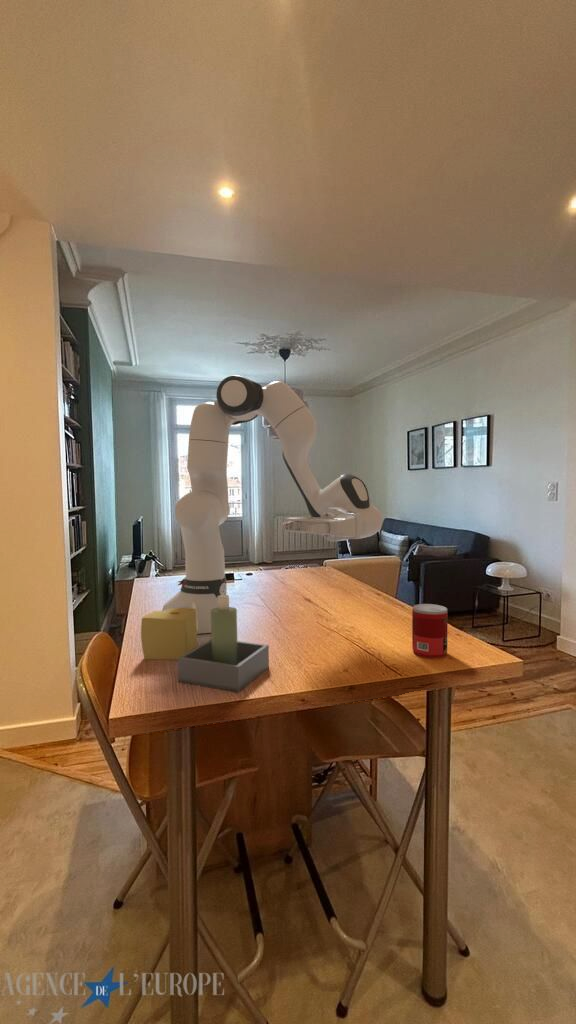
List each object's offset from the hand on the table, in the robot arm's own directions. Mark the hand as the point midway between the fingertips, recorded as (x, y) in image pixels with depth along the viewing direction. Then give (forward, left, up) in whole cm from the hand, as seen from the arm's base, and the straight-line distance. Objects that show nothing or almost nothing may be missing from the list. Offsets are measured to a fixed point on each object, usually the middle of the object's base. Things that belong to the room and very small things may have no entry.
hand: (296, 527), depth 115 cm
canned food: (+30, +9, -30) cm, 44 cm away
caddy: (-9, -20, -30) cm, 37 cm away
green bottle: (-9, -20, -29) cm, 36 cm away
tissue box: (-28, -13, -30) cm, 43 cm away
